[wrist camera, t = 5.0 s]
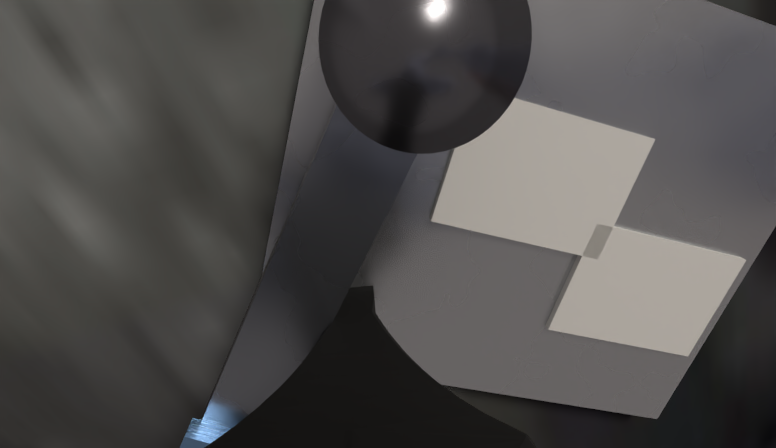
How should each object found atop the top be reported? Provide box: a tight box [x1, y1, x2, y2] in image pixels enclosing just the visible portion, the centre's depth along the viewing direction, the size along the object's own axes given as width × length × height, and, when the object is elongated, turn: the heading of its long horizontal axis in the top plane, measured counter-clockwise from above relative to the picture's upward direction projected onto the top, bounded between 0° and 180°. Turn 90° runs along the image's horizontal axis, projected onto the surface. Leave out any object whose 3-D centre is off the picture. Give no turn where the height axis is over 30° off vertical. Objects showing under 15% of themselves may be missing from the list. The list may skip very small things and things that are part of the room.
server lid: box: [262, 0, 776, 419], centre depth 12 cm, size 14×12×1 cm
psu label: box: [430, 98, 655, 259], centre depth 11 cm, size 5×4×1 cm
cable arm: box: [180, 0, 532, 448], centre depth 9 cm, size 12×3×4 cm, turn 154°
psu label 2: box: [545, 224, 746, 356], centre depth 13 cm, size 5×4×1 cm
